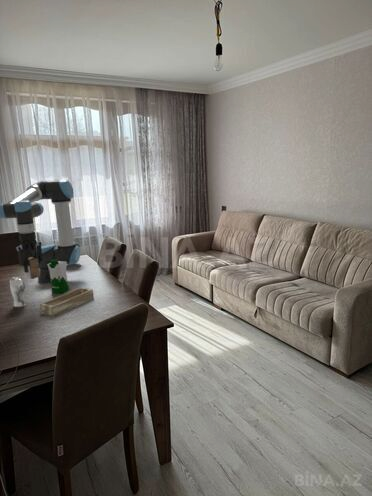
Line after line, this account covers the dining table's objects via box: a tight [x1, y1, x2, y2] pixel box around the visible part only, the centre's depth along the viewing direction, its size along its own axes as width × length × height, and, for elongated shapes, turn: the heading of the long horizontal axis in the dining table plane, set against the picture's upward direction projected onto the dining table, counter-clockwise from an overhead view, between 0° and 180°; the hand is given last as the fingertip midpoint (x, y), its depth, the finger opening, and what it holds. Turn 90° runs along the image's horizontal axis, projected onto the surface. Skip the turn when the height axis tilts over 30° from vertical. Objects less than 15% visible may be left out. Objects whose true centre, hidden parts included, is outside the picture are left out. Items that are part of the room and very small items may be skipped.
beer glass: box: [9, 276, 27, 308], centre depth 185 cm, size 7×7×15 cm
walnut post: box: [28, 256, 40, 280], centre depth 177 cm, size 4×4×10 cm
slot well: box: [39, 286, 95, 317], centre depth 184 cm, size 9×27×5 cm, turn 150°
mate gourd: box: [66, 241, 81, 269], centre depth 260 cm, size 16×14×20 cm
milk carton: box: [47, 260, 70, 295], centre depth 203 cm, size 9×9×20 cm
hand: (33, 276), depth 178 cm, fingers closed on walnut post, 4 cm apart
